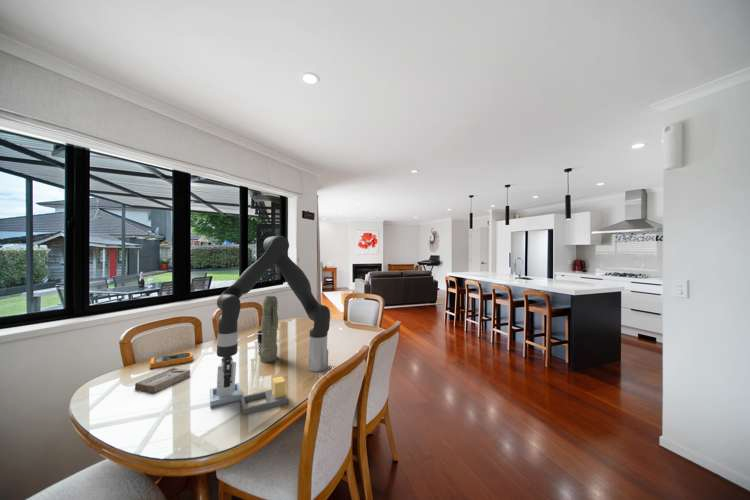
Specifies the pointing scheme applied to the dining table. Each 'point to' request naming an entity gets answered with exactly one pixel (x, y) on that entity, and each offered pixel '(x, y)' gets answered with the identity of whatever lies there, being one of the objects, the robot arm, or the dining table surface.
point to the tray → (225, 397)
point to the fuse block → (267, 397)
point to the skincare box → (220, 381)
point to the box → (162, 380)
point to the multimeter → (171, 360)
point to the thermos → (269, 330)
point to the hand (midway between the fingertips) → (226, 383)
